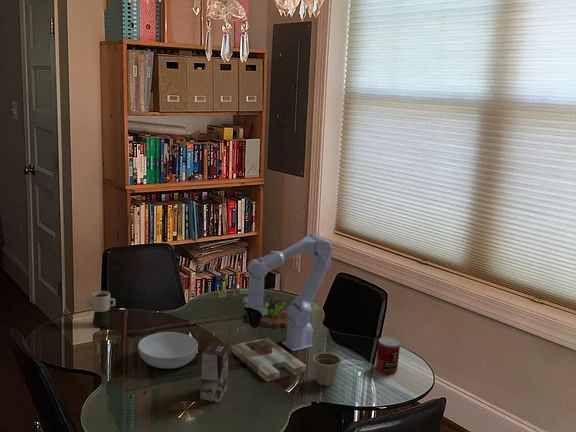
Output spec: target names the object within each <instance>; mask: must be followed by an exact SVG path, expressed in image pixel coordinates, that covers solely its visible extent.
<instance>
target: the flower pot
mask: <svg viewBox="0 0 576 432" xmlns="http://www.w3.org/2000/svg"><path fill="white" fill-rule="evenodd" d="M313 362H314V366H315V379H316V380H315V381H316V383H317V384H318V385H320V386H326V387H328V386H329V387H330V386H333V385H334V384H335V382H336V378H337V372H338V369H339V366H340V363H342V359H341V357H340V356H338V355H337V354H334V353H331V352H320V353H317V354H314V355H313Z"/></svg>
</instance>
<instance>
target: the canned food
mask: <svg viewBox="0 0 576 432" xmlns="http://www.w3.org/2000/svg"><path fill="white" fill-rule="evenodd" d="M377 343H378V344H377V345H378V346H377V353H376V363H375V366H376V370H377V371H379V372H380V373H381V374H385V375H392V374H395V373H397V371H398V366H399V357H400V350H401V349H400V347H401V342H400V340H398V339H397V338H395V337H391V336H382V337H379V338H378V342H377Z"/></svg>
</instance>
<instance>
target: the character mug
mask: <svg viewBox="0 0 576 432" xmlns="http://www.w3.org/2000/svg"><path fill="white" fill-rule="evenodd" d="M90 301H91V303H90ZM111 302H112V303H111ZM86 305H87V306H88V307H91V311H93V318H92V325H94V327H101V328H102V327H106V326H108V325H109V324H110V318H109V312H108V311H109V310H110V309H111V307H115V306H116V298H114V297H113V298H111V293H110V292H109V291H106V290H99V291H94V292H93V293H91V297H87V298H86Z"/></svg>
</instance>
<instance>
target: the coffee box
mask: <svg viewBox="0 0 576 432" xmlns="http://www.w3.org/2000/svg"><path fill="white" fill-rule="evenodd" d="M229 349H230V347H229V344H228V343H227V344H226V343H220V342H209V344H208V345H207V347H206V348H205V349H204V351H203V352H202V356H201V357H202V358H201V375H200V376H201V377H200V378H201V379H200V381H201V382H200V400H201V399H204V400H203V401H206V400H209V401H208V402H212V401H215V402H214V403H217V402H218V403H219V402H220V401H221V399H222V398H223V396H224V395H225V393H226V391H227V390H228V369H229V368H228V367H229V351H230V350H229Z"/></svg>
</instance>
